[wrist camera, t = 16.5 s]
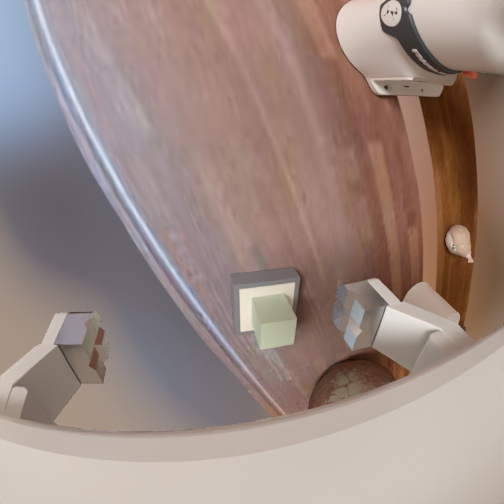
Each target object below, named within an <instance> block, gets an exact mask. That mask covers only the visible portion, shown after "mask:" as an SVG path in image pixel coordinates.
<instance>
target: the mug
mask: <svg viewBox="0 0 504 504" xmlns="http://www.w3.org/2000/svg"><path fill="white" fill-rule="evenodd" d="M403 302H407V303H409V304H412V305H414V306H417V307H419V308H422V309H424V310H427V311H429V312H431V313H434V314H436V315H439V316H441V317H444V318H446V319H449V320H451V321H453V322H456V323H457V324H458V323H459V320H460V315H459V313H458V312H457V311H456V310H455V309H453V308H452V307H451V306H450V305H449V304H448V303H447V302H446V301H445V300H444V299H443V298H442V297H441V296H440V295H439V294H438V293H437V292H435V291H434V290H433V289H432V288H431V287H430V285H429V284H428V283H427V282H419V283H417V284H416V285H414V286H413V287H412V288H411V289H410V290H409V291H408V292H407V294H406V295H405V297H404V299H403Z"/></svg>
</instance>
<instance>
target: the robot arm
mask: <svg viewBox="0 0 504 504" xmlns="http://www.w3.org/2000/svg"><path fill="white" fill-rule="evenodd" d="M336 29H337V36H338V40H339V43H340V45H341V48H342V50H343V52H344V53H345V55H346V57H347V58H348V59H349V61H350V62H351V63H352V64H353V66H354V67H355V68H356V69H358V70H359V71H360V72H361V73H362V74H363V75H364V77H365V78H366V80H367V82H368V84H369V86H370V88H371V90H372V91H373V92H374V93H375V94H376V95H404V96H426V97H439V96H440V94H441V92H442V90H443V87H444V86H451V85H453V84H454V82H455V80H456V77H457V73H460V72H463V71H464V72H463V74H464V76H466V77H468V78H473V79H476V78H477V73H476V72H485V73H495V74H504V0H353V1H350V2H348V3H347V4H345V5H344V6H343V7H342V9H341V10H340V12H339V14H338V17H337V23H336ZM384 86H386V89H385V88H384ZM336 295H337V297H338V301H337V302H336V303H335V304H334V307H333V320H334V323H335V325H336V327H337V329H338V330H339V331H341V332H343V333H345V334H344V340H345V341H346V343H347V344H348V346H349V347H350V349H351V350H352V351H354V350H358V349H362V348H366V347H370V346H372V347H373V348H374V349H376V350H378V351H379V352H381V353H382V354H384V355H385V356H387V357H389V358H390V359H392V360H393V361H395V362H396V363H398V364H400V365H401V366H403V367H404V368H406V369H408V370H409V371H411V372H410V373H409V375H408V376H406V377H403V378H401V379H398V380H396V381H393V382H391V383H388V384H386V385H383V386H381V387H378V388H375V389H373V390H370V391H367V392H364V393H361V394H359V395H356V396H353V397H350V398H346V399H343V400H340V401H337V402H334V403H330V404H327V405H323V406H320V407H316V408H312V409H308V410H305V411H301V412H296V413H292V414H288V415H283V416H279V417H274V418H269V419H264V420H258V421H253V422H247V423H240V424H234V425H226V426H219V427H209V428H199V429H187V430H170V431H111V430H110V431H109V430H94V429H83V428H74V427H65V426H58V425H57V424H56V423H55V421H54V420H55V419H56V418H57V416H58V415H59V413H60V412H61V411H62V410H63V408H64V407H65V405H66V404H67V403H68V402H69V400H70V399H71V398H72V396H73V395H74V394H75V392H76V391H77V390H78V389H79V387H80V386H81V384H103V382H104V376H105V371H106V367H105V365H104V363H103V362H104V361H105V360H106V359H108V355H109V342H108V338H107V335H106V332H105V331H104V330H103V329H101V328H100V327H99V326H100V323H101V320H100V318H99V315H98V313H96V312H95V311H89V312H58V313H56V314H55V316H54V318H53V320H52V322H51V324H50V326H49V328H48V331H47V333H46V335H45V337H44V339H43V342H42V344H41V345H37V346H35V347H34V348H33V349H32V350H31V351H29V352H28V353H27V354H26V355H25V356H23V357H22V358H21V359H20V360H19V361H18V362H16V363H15V364H14V365H13V366H12V367H10V368H9V369H8V370H7V371H6V372H5V373H4V374H2V375H1V376H0V504H504V324H502V325H501V326H499V327H498V328H496V329H495V330H493V331H491V332H490V333H488V334H487V335H485V336H483V337H482V338H481V339H479V340H477V341H475V342H474V341H473V340H472V339H471V338H470V337H469V336H468V335H467V333H466V332H465V331H464V330H463V329H462V328H461V327H460V326H459V325H458V324H457V323H456V322H453V321H451V320H449V319H446V318H444V317H441V316H439V315H436V314H434V313H431V312H429V311H427V310H424V309H422V308H419V307H417V306H414V305H412V304H409V303H407V302H400V301H399V299H398V298H397V297H396V296H395V295H394V294H393V293H392V292H391V291H390V290H389V289H388V288H387V287H386V286H385V285H384V284H383V283H382V282H381V281H380V280H379V279H376V278H372V279H368V280H364V281H359V282H354V283H348V284H342V285H339V287H338V288H337V293H336Z"/></svg>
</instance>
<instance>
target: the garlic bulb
mask: <svg viewBox="0 0 504 504" xmlns="http://www.w3.org/2000/svg"><path fill="white" fill-rule="evenodd" d="M445 241H446V245H447V248H448V249H449V251H450V252H451V253H453V254H455V255H460V256H462V257H466V258H468V262H474V261H473V259H472V257H471V255H470V254H471V244H470V233H469V231H468V230H467V228H466V227H464V226H462V225H454V226H452V227H450V229H449V230H448V232H447V234H446V238H445Z"/></svg>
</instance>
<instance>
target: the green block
mask: <svg viewBox="0 0 504 504" xmlns="http://www.w3.org/2000/svg"><path fill="white" fill-rule="evenodd" d="M251 323H252V326H253V329H254V332H255V335H256V339H257V342H258V345H259V348H260V350H262V349H268V348H274V347H279V346H285V345H290V344H294V337H295V330H296V323H297V318H296V316H295V314H294V312H293V310H292V308H291V306H290V304H289V302H288V300H287V298H286V296H285V294H284V293H283V294H275V295H268V296H260V297H252V298H251Z"/></svg>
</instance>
